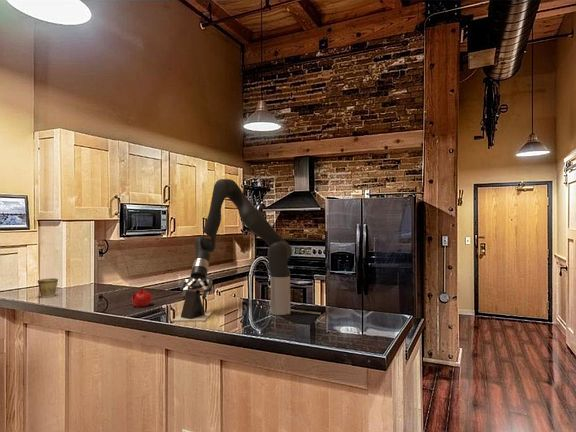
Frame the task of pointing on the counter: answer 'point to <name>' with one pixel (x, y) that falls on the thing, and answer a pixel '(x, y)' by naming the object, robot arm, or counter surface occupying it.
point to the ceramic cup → (47, 287)
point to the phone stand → (192, 305)
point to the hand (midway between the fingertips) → (193, 298)
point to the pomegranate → (141, 298)
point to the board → (201, 318)
